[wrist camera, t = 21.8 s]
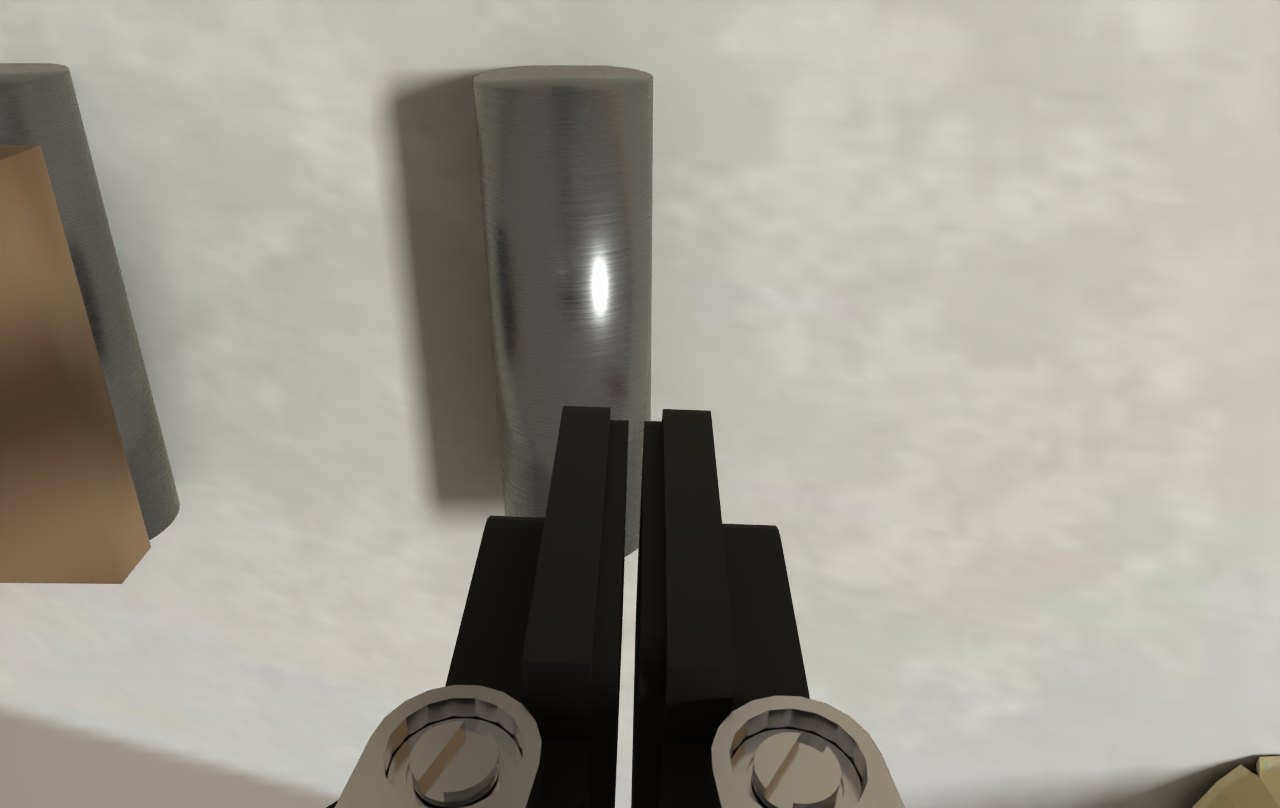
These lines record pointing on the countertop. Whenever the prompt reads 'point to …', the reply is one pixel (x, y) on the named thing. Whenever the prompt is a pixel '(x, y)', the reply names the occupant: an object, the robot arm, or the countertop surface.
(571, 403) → the cylinder
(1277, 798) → the scroll
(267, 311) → the countertop surface
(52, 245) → the slab
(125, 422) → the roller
